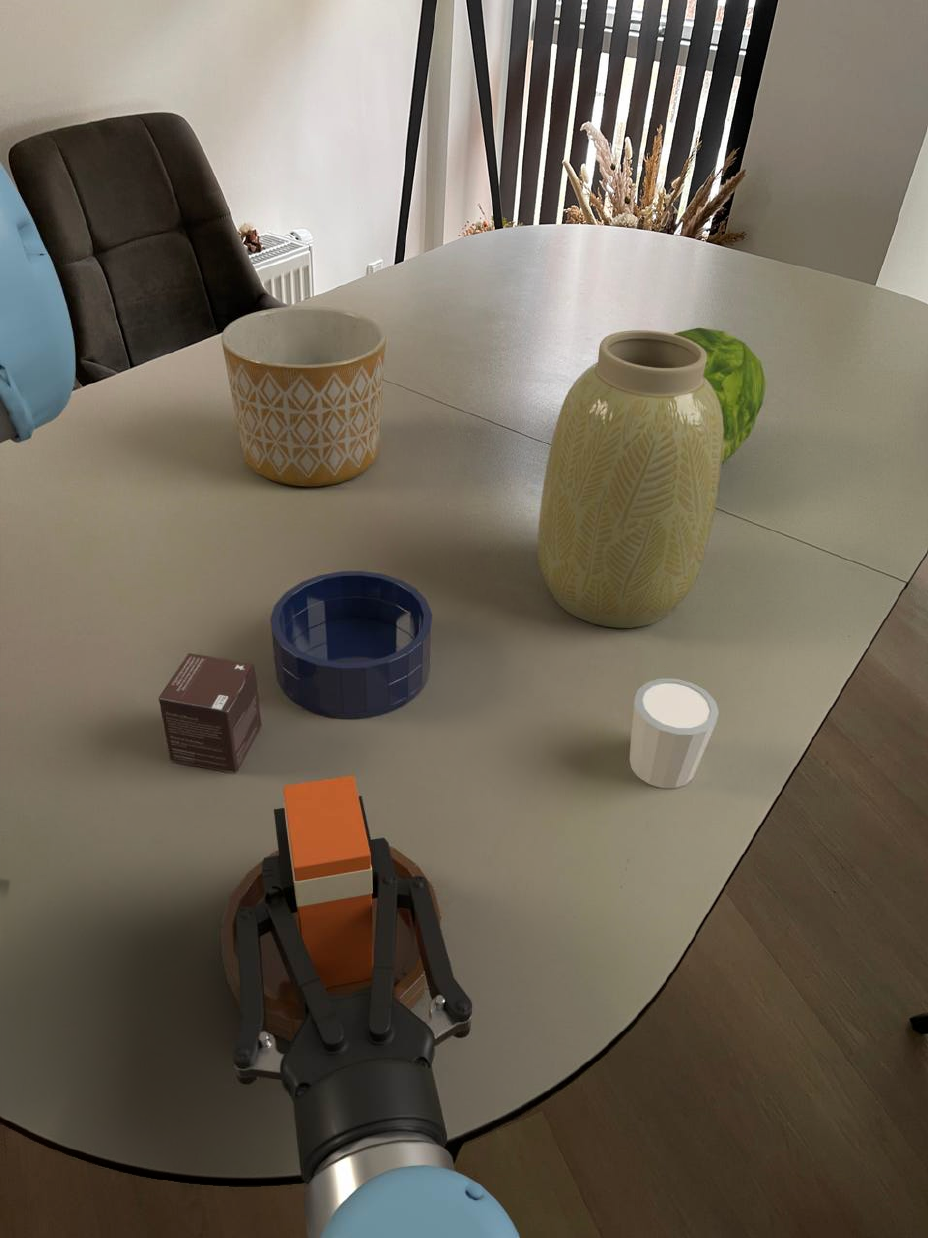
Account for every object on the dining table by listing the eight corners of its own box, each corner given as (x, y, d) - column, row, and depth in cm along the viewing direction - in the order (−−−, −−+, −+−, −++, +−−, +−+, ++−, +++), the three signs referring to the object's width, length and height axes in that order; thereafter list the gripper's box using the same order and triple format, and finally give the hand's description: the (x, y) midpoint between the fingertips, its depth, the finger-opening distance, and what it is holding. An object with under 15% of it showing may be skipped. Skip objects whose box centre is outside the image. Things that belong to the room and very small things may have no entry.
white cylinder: (703, 800, 79) (721, 740, 74) (620, 787, 80) (633, 726, 75) (701, 742, 84) (717, 683, 80) (624, 730, 85) (636, 671, 81)
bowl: (233, 1074, 59) (227, 1045, 57) (222, 884, 70) (216, 853, 68) (460, 1026, 62) (463, 996, 60) (415, 851, 73) (416, 821, 71)
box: (199, 714, 84) (188, 650, 80) (263, 726, 83) (256, 662, 79) (168, 763, 79) (155, 698, 75) (236, 776, 79) (227, 711, 74)
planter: (256, 507, 112) (243, 375, 102) (220, 437, 126) (205, 314, 116) (408, 480, 119) (409, 354, 109) (358, 416, 133) (355, 299, 123)
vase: (661, 543, 110) (707, 313, 94) (717, 634, 97) (783, 385, 80) (516, 551, 107) (538, 316, 91) (553, 647, 94) (587, 391, 78)
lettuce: (640, 545, 121) (565, 447, 115) (688, 442, 136) (623, 351, 130) (755, 502, 110) (679, 391, 104) (794, 395, 124) (729, 292, 118)
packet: (305, 993, 63) (293, 868, 55) (295, 909, 68) (282, 785, 60) (374, 979, 64) (371, 855, 56) (359, 898, 69) (354, 774, 61)
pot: (283, 729, 83) (278, 678, 79) (269, 628, 94) (264, 578, 91) (445, 707, 86) (448, 657, 83) (413, 611, 98) (414, 563, 94)
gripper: (206, 1243, 48) (194, 871, 66) (537, 1160, 52) (441, 830, 70) (186, 1178, 43) (179, 798, 61) (550, 1093, 47) (444, 758, 65)
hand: (319, 816), depth 65 cm, fingers closed on packet, 4 cm apart
